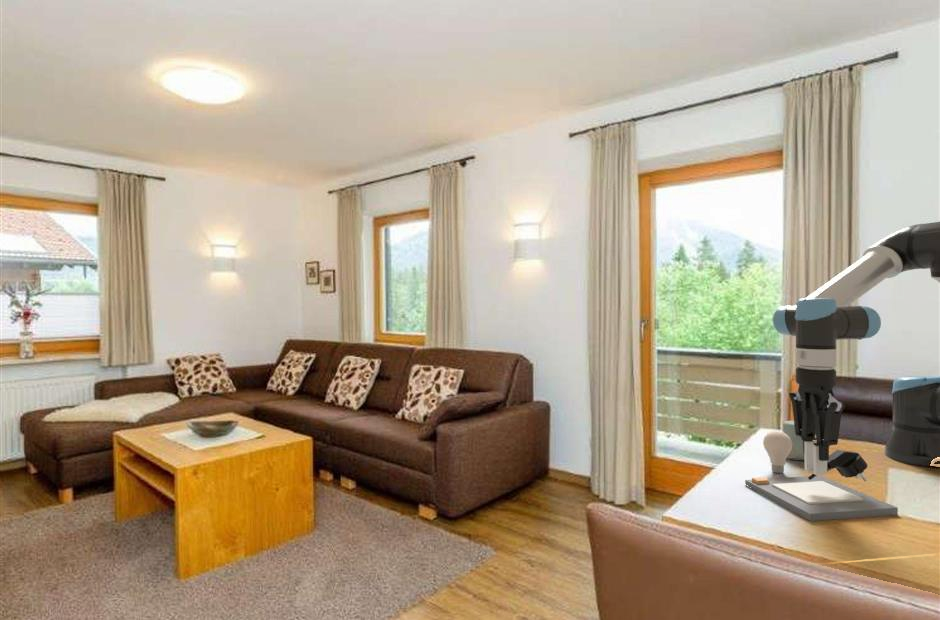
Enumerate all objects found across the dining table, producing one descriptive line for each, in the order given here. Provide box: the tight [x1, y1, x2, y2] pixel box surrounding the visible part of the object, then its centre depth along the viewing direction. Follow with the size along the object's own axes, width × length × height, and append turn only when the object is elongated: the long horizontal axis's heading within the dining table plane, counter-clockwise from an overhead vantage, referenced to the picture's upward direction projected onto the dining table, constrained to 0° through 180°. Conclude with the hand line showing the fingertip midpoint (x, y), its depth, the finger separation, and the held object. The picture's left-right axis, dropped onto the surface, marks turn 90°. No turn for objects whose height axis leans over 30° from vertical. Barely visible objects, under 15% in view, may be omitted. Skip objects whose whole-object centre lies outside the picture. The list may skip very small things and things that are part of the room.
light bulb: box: [762, 430, 792, 474], centre depth 133 cm, size 7×7×11 cm
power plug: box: [808, 449, 868, 482], centre depth 116 cm, size 6×8×12 cm
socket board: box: [744, 475, 899, 522], centre depth 116 cm, size 20×20×2 cm
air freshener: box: [782, 420, 804, 461], centre depth 146 cm, size 11×8×10 cm
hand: (815, 471), depth 116 cm, fingers closed on power plug, 2 cm apart
